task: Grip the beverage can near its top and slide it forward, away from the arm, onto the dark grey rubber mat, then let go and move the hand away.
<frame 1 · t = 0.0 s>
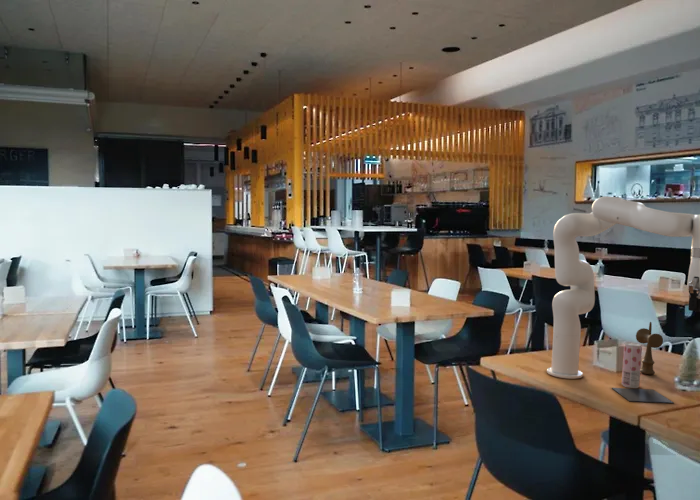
beverage can: (630, 386, 208), on the table
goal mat: (641, 395, 197), on the table
kendama: (647, 374, 225), on the table
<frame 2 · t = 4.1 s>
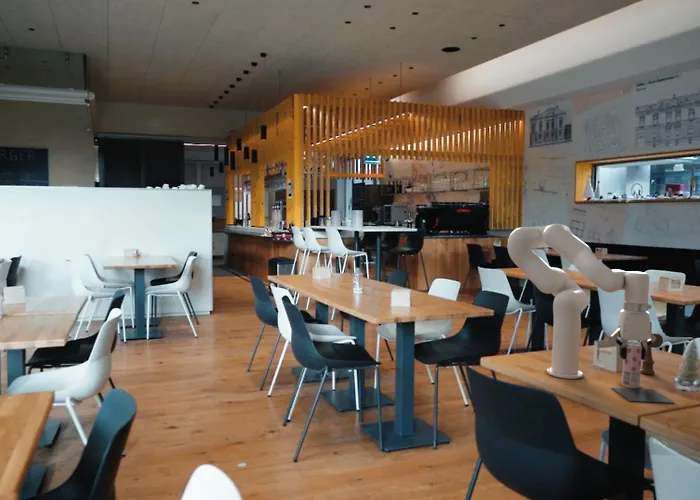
hand: (632, 358, 207), 10 cm above the table, tool pointing down, fingers closed on beverage can, 5 cm apart
beverage can: (630, 386, 208), on the table, touching gripper
everything else where it was.
when the fingers open (10 cm above the table, at t = 7.7 s): beverage can stays where it is, resting on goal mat.
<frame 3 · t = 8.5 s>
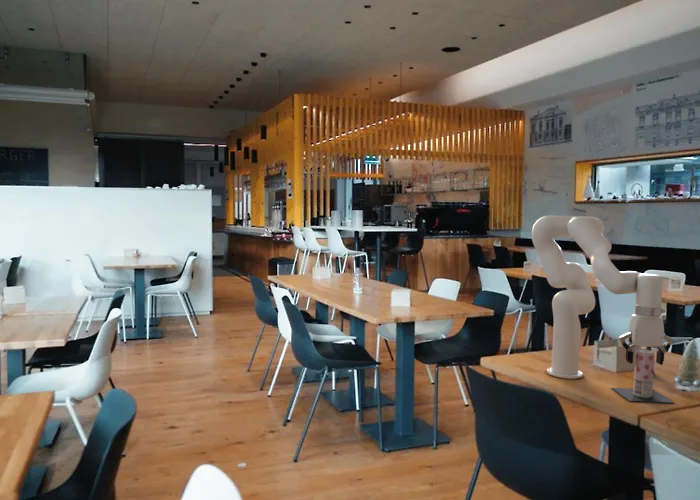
hand: (644, 363, 196), 11 cm above the table, tool pointing down, fingers open, 9 cm apart
beverage can: (642, 395, 196), resting on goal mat
everything else where it was.
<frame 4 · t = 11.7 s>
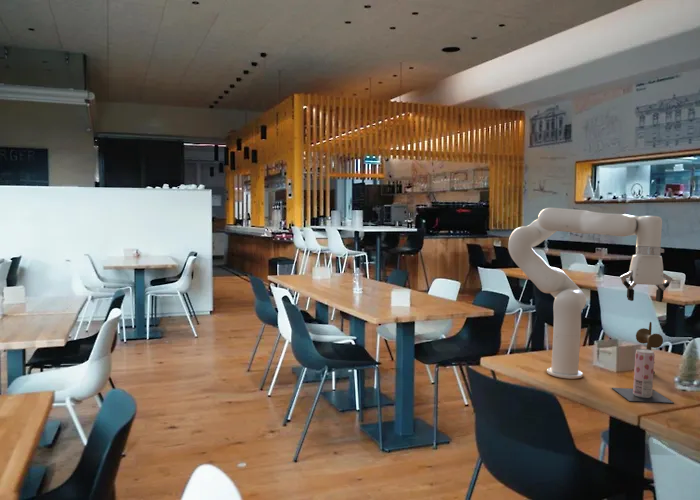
hand: (644, 300, 206), 30 cm above the table, tool pointing down, fingers open, 9 cm apart
nothing on the table moved.
at the end: beverage can inside the target area (0.0 cm from its centre), resting on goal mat; beverage can moved 11.5 cm from its start; beverage can tilted 0° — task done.
